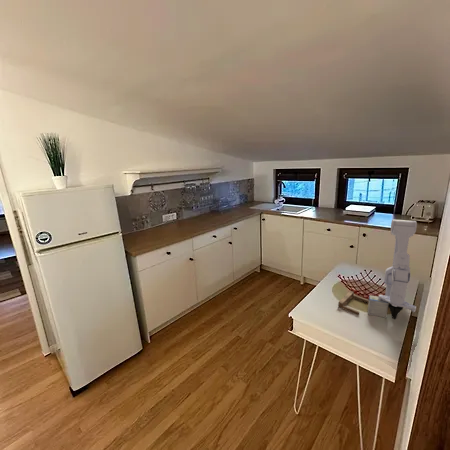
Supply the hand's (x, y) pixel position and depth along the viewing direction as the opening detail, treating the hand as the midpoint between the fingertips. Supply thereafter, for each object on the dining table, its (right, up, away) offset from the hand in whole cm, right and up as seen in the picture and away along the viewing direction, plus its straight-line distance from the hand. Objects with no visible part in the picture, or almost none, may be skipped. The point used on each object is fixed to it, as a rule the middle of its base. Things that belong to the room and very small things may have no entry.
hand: (394, 317), depth 120 cm
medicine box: (-5, 0, +6) cm, 7 cm away
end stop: (-12, +2, +14) cm, 18 cm away
